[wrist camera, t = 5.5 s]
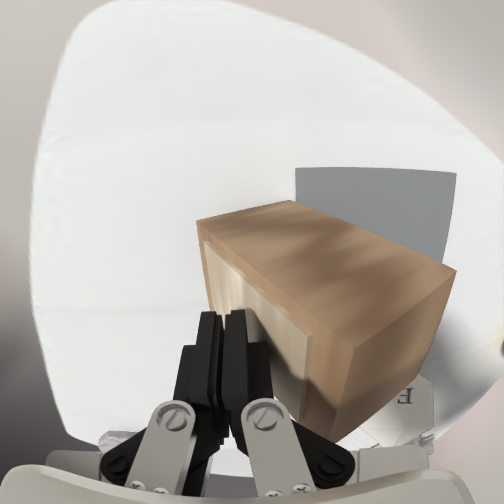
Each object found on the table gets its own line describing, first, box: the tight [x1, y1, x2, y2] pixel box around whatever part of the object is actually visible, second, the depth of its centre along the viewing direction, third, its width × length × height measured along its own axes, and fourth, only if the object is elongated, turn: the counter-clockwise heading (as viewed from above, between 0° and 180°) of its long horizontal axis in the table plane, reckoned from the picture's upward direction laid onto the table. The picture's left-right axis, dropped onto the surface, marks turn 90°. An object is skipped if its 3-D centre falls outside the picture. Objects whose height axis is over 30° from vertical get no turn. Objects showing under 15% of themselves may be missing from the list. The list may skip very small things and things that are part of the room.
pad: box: [295, 167, 456, 263], centre depth 19 cm, size 13×10×1 cm
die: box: [359, 374, 434, 447], centre depth 23 cm, size 8×9×10 cm
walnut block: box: [196, 200, 456, 443], centre depth 13 cm, size 6×6×11 cm
